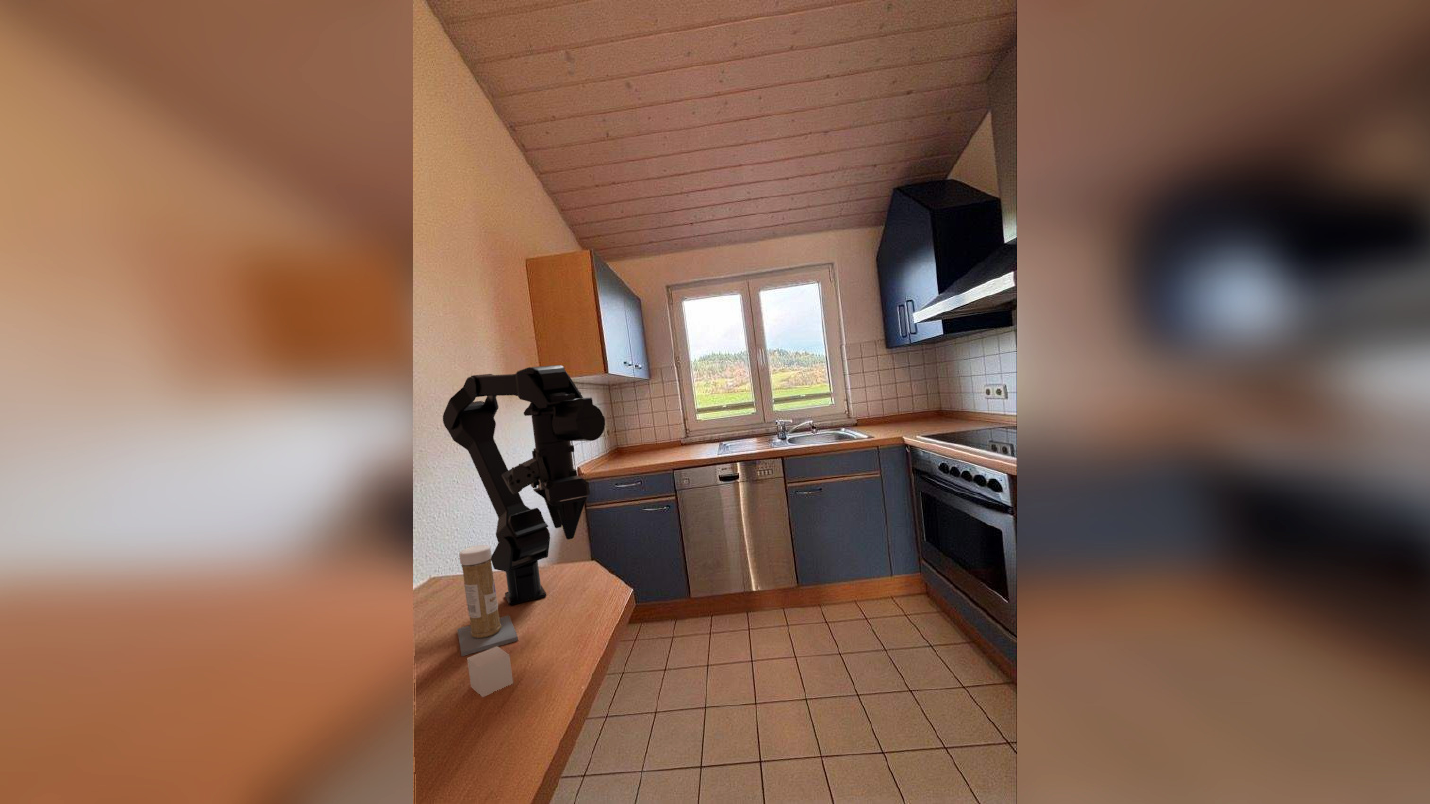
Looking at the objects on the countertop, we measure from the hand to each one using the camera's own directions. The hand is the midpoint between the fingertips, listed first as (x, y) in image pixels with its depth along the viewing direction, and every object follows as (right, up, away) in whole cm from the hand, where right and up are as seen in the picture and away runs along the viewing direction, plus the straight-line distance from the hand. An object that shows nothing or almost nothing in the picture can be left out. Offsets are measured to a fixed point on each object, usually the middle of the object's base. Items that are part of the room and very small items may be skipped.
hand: (563, 533), depth 102 cm
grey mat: (-10, -15, -7) cm, 19 cm away
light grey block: (-4, -15, -23) cm, 28 cm away
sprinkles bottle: (-10, -14, -7) cm, 19 cm away
